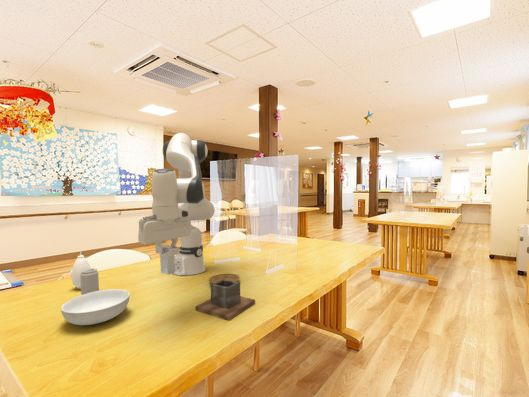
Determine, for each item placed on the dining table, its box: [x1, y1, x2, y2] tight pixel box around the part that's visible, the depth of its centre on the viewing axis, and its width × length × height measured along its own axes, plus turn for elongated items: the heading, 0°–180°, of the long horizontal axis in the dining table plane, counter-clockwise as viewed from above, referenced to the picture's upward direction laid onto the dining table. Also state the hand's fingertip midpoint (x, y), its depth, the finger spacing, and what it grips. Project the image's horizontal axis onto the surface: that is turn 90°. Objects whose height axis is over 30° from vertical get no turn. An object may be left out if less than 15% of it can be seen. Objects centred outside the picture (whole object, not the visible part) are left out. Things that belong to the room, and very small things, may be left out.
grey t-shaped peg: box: [155, 243, 180, 275], centre depth 99 cm, size 9×3×10 cm, turn 57°
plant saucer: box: [208, 273, 240, 285], centre depth 132 cm, size 15×15×3 cm
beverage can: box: [80, 268, 100, 296], centre depth 117 cm, size 6×6×12 cm
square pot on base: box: [195, 279, 256, 321], centre depth 105 cm, size 16×16×9 cm
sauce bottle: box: [71, 249, 92, 290], centre depth 129 cm, size 8×8×18 cm
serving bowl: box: [60, 288, 131, 326], centre depth 98 cm, size 21×21×7 cm
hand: (167, 252), depth 99 cm, fingers closed on grey t-shaped peg, 3 cm apart
